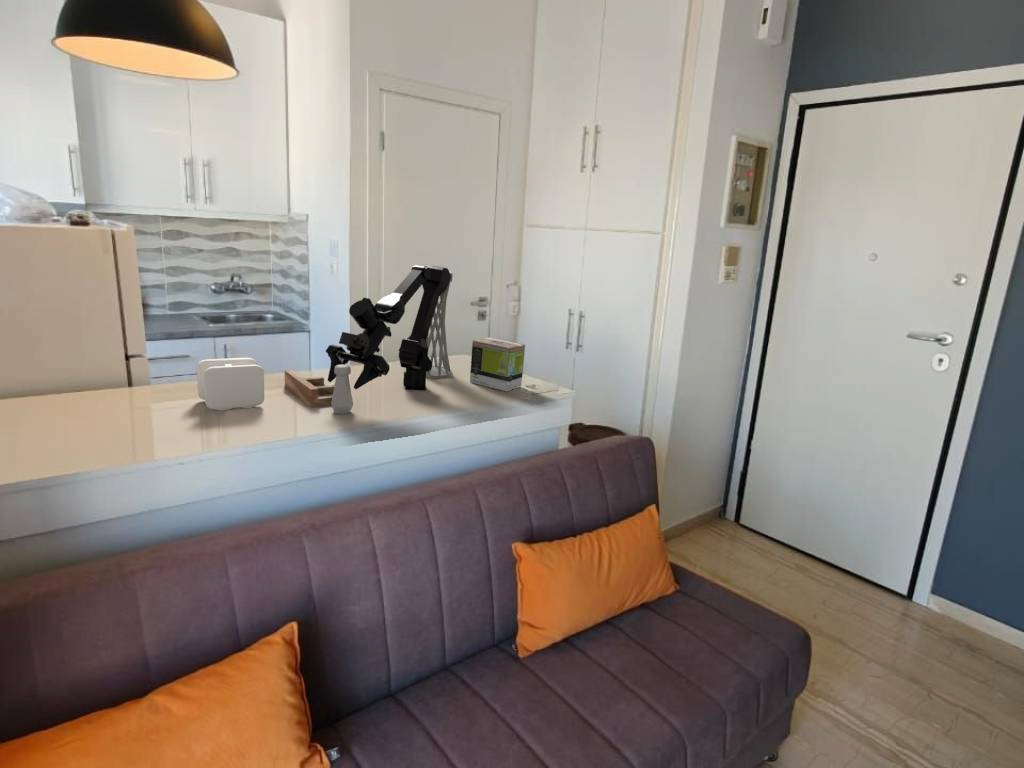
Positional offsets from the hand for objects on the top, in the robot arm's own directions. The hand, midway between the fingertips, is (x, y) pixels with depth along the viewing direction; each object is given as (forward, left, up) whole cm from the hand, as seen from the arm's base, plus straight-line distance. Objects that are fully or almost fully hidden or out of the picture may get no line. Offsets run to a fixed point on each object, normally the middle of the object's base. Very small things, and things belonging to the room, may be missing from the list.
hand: (341, 384), depth 164 cm
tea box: (-48, -31, -8) cm, 58 cm away
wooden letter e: (+8, -16, -8) cm, 19 cm away
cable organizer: (+29, -5, -8) cm, 30 cm away
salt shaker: (0, 0, -8) cm, 8 cm away
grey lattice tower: (-28, -43, -8) cm, 52 cm away
